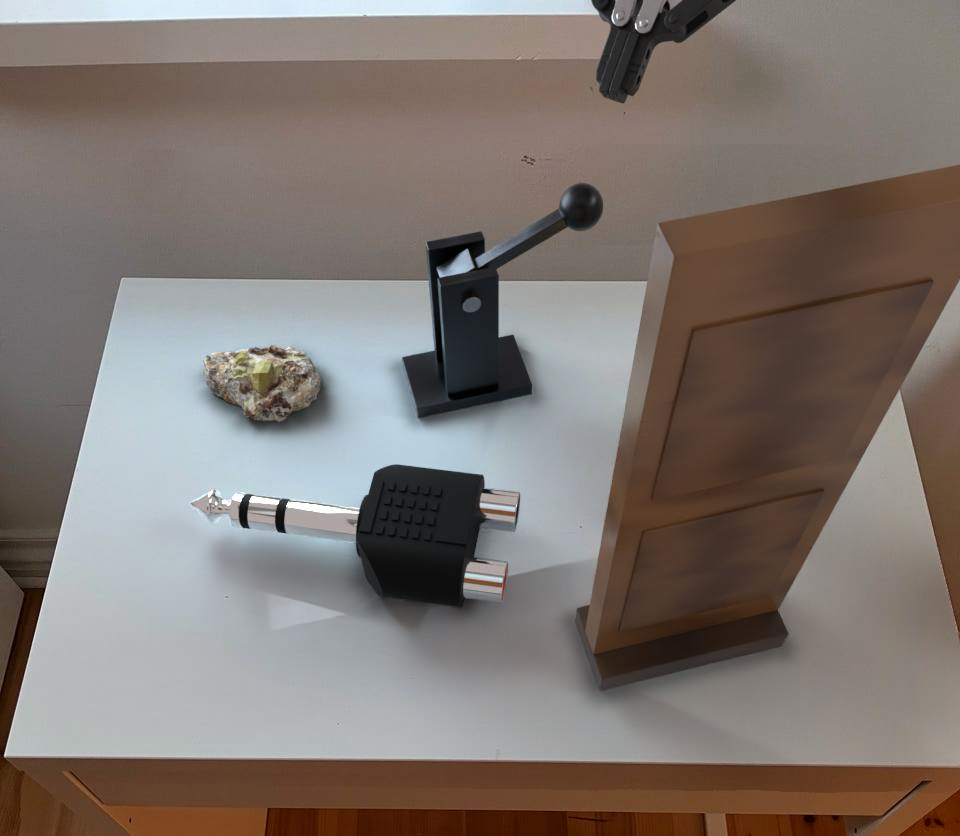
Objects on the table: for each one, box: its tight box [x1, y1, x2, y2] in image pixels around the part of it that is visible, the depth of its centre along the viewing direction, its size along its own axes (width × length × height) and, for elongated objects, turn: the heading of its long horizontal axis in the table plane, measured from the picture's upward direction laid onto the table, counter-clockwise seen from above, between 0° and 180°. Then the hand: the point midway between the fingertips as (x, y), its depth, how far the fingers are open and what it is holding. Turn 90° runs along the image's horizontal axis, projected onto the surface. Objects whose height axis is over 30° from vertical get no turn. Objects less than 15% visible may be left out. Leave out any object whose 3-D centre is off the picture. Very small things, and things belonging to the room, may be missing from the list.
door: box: [574, 163, 960, 692], centre depth 52 cm, size 14×6×36 cm, turn 104°
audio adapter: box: [189, 463, 521, 609], centre depth 70 cm, size 11×5×25 cm
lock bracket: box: [401, 230, 533, 419], centre depth 74 cm, size 10×6×13 cm, turn 104°
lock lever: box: [436, 182, 604, 277], centre depth 69 cm, size 13×3×3 cm, turn 105°
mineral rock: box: [202, 344, 322, 423], centre depth 79 cm, size 11×4×8 cm
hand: (610, 97), depth 63 cm, fingers closed
